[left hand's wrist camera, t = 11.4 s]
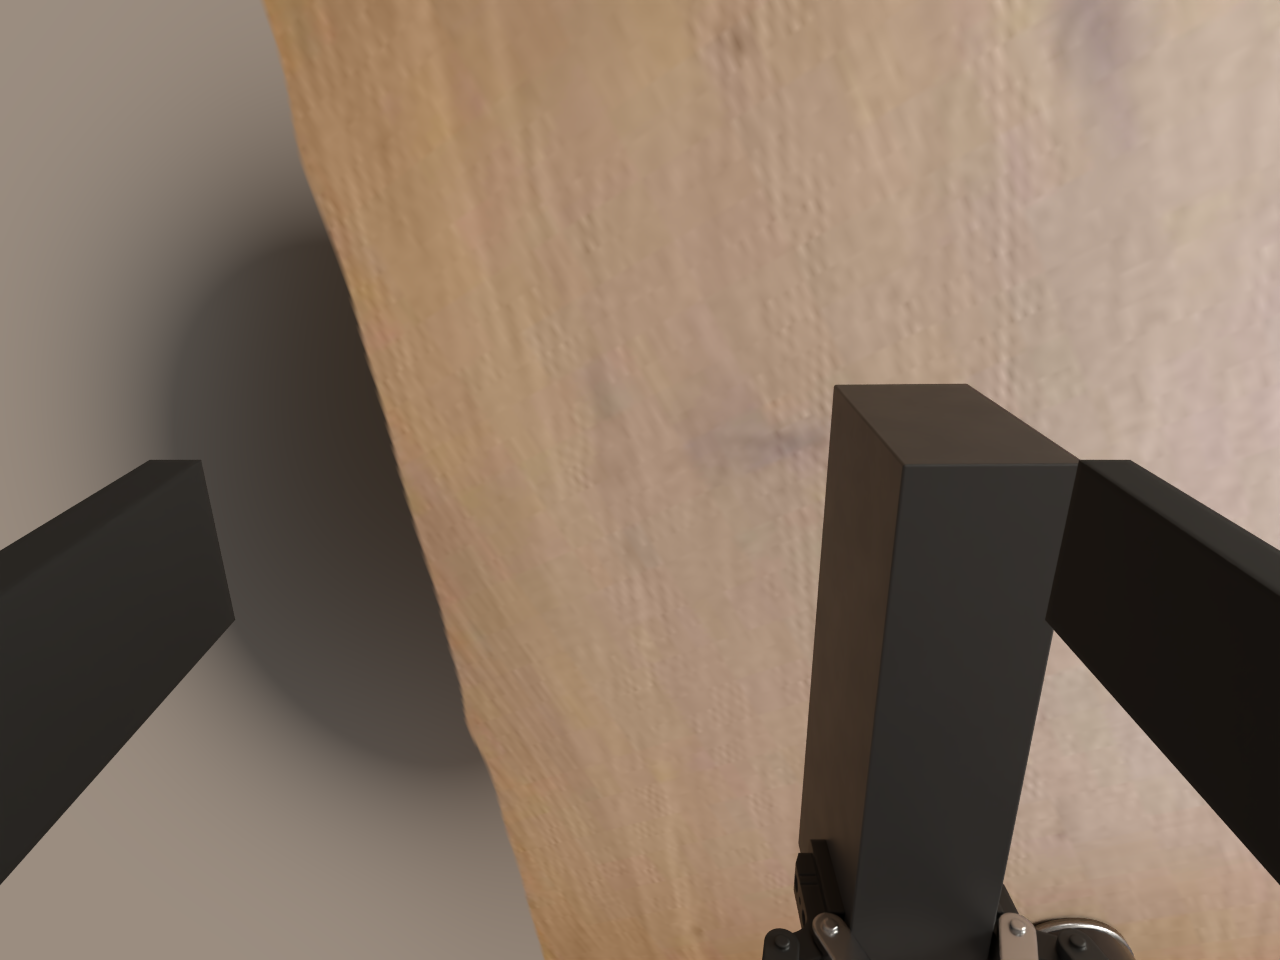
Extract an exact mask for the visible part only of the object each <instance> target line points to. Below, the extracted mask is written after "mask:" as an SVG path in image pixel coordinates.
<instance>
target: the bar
mask: <svg viewBox="0 0 1280 960" xmlns="http://www.w3.org/2000/svg"><path fill="white" fill-rule="evenodd" d="M1079 460H1080V459H1078V458H1077V457H1075V456H1074V455H1072V454H1071V453H1069V452H1068V451H1066V450H1065V449H1063V448H1062V447H1060V446H1059V445H1057V444H1056V443H1054V442H1053V441H1051V440H1050V439H1048V438H1047V437H1045V436H1044V435H1042V434H1041V433H1039V432H1038V431H1037V430H1035V429H1034V428H1032V427H1031V426H1029V425H1028V424H1026V423H1025V422H1023V421H1022V420H1020V419H1019V418H1017V417H1016V416H1014V415H1013V414H1011V413H1010V412H1008V411H1007V410H1005V409H1004V408H1002V407H1001V406H999V405H998V404H996V403H995V402H993V401H992V400H990V399H989V398H987V397H986V396H984V395H983V394H981V393H980V392H978V391H977V390H975V389H974V388H972V387H971V386H969V385H968V384H885V385H835V386H834V393H833V406H832V419H831V432H830V445H829V458H828V471H827V483H826V496H825V509H824V522H823V535H822V548H821V561H820V573H819V586H818V599H817V612H816V625H815V638H814V650H813V663H812V676H811V689H810V702H809V715H808V728H807V740H806V753H805V766H804V779H803V792H802V805H801V818H800V830H799V848H800V852H801V853H807V852H808V841H809V839H825V840H826V842H827V846H828V850H829V853H830V857H831V861H832V865H833V868H834V872H835V876H836V880H837V883H838V887H839V891H840V895H841V898H842V902H843V906H844V910H845V918H844V922H845V923H846V925H847V926H848V928H849V929H850V930H851V932H852V933H853V935H854V936H855V938H856V939H857V941H858V942H859V943H860V945H861V946H862V948H863V949H864V951H865V952H866V953H867V955H868V956H869V958H870V959H871V960H988V955H989V950H990V945H991V940H992V935H993V930H994V925H995V920H996V915H997V910H998V905H999V900H1000V895H1001V890H1002V885H1003V880H1004V875H1005V870H1006V865H1007V860H1008V855H1009V850H1010V845H1011V840H1012V835H1013V830H1014V825H1015V820H1016V815H1017V810H1018V805H1019V800H1020V795H1021V790H1022V785H1023V780H1024V775H1025V770H1026V765H1027V760H1028V755H1029V750H1030V745H1031V740H1032V735H1033V730H1034V725H1035V720H1036V715H1037V710H1038V705H1039V700H1040V695H1041V690H1042V685H1043V680H1044V675H1045V670H1046V665H1047V660H1048V655H1049V650H1050V645H1051V640H1052V636H1053V631H1054V629H1053V628H1052V627H1051V626H1050V625H1049V624H1048V623H1047V622H1046V620H1045V617H1046V613H1047V608H1048V603H1049V598H1050V594H1051V589H1052V584H1053V580H1054V575H1055V570H1056V566H1057V561H1058V556H1059V552H1060V547H1061V542H1062V537H1063V533H1064V528H1065V523H1066V519H1067V514H1068V509H1069V505H1070V500H1071V495H1072V491H1073V486H1074V481H1075V476H1076V472H1077V467H1078V462H1079Z"/></svg>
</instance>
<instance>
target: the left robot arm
mask: <svg viewBox="0 0 1280 960" xmlns="http://www.w3.org/2000/svg"><path fill="white" fill-rule="evenodd" d="M234 620H235V617H234V613H233V608H232V603H231V598H230V594H229V589H228V584H227V580H226V575H225V570H224V566H223V561H222V556H221V552H220V547H219V542H218V538H217V533H216V528H215V523H214V519H213V514H212V509H211V505H210V500H209V495H208V491H207V486H206V481H205V476H204V472H203V467H202V462H201V460H149V461H147V462H146V463H144V464H142V465H141V466H139V467H137V468H136V469H134V470H133V471H131V472H129V473H128V474H126V475H124V476H123V477H121V478H119V479H118V480H116V481H114V482H113V483H111V484H109V485H108V486H106V487H104V488H103V489H101V490H99V491H98V492H96V493H94V494H93V495H91V496H90V497H88V498H86V499H85V500H83V501H81V502H80V503H78V504H76V505H75V506H73V507H71V508H70V509H68V510H66V511H65V512H63V513H62V514H60V515H58V516H57V517H55V518H53V519H52V520H50V521H48V522H47V523H45V524H43V525H42V526H40V527H38V528H37V529H35V530H34V531H32V532H30V533H29V534H27V535H25V536H24V537H22V538H20V539H19V540H17V541H15V542H14V543H12V544H10V545H9V546H7V547H5V548H4V549H2V550H1V551H0V885H1V883H2V882H3V881H4V880H5V879H6V878H7V877H8V876H9V874H10V873H11V872H12V871H13V870H14V869H15V868H16V867H17V865H18V864H19V863H20V862H21V861H22V860H23V859H24V858H25V856H26V855H27V854H28V853H29V852H30V851H31V850H32V848H33V847H34V846H35V845H36V844H37V843H38V842H39V841H40V839H41V838H42V837H43V836H44V835H45V834H46V833H47V832H48V830H49V829H50V828H51V827H52V826H53V825H54V824H55V823H56V821H57V820H58V819H59V818H60V817H61V816H62V815H63V813H64V812H65V811H66V810H67V809H68V808H69V807H70V806H71V804H72V803H73V802H74V801H75V800H76V799H77V798H78V797H79V795H80V794H81V793H82V792H83V791H84V790H85V789H86V787H87V786H88V785H89V784H90V783H91V782H92V781H93V780H94V778H95V777H96V776H97V775H98V774H99V773H100V772H101V771H102V769H103V768H104V767H105V766H106V765H107V764H108V763H109V761H110V760H111V759H112V758H113V757H114V756H115V755H116V754H117V753H118V751H119V750H120V749H121V748H122V747H123V746H124V745H125V743H126V742H127V741H128V740H129V739H130V738H131V737H132V735H133V734H134V733H135V732H136V731H137V730H138V729H139V728H140V727H141V725H142V724H143V723H144V722H145V721H146V720H147V719H148V717H149V716H150V715H151V714H152V713H153V712H154V711H155V710H156V708H157V707H158V706H159V705H160V704H161V703H162V702H163V701H164V699H165V698H166V697H167V696H168V695H169V694H170V693H171V691H172V690H173V689H174V688H175V687H176V686H177V685H178V684H179V682H180V681H181V680H182V679H183V678H184V677H185V676H186V675H187V673H188V672H189V671H190V670H191V669H192V668H193V667H194V666H195V664H196V663H197V662H198V661H199V660H200V659H201V658H202V656H203V655H204V654H205V653H206V652H207V651H208V650H209V649H210V648H211V646H212V645H213V644H214V643H215V642H216V641H217V640H218V638H219V637H220V636H221V635H222V634H223V633H224V632H225V631H226V629H227V628H228V627H229V626H230V625H231V624H232V623H233V622H234ZM1045 620H1046V622H1047V623H1048V624H1049V625H1050V626H1051V627H1052V628H1053V629H1054V631H1055V632H1056V633H1057V634H1058V635H1059V636H1060V637H1061V638H1062V640H1063V641H1064V642H1065V643H1066V644H1067V645H1068V646H1069V648H1070V649H1071V650H1072V651H1073V652H1074V653H1075V654H1076V655H1077V657H1078V658H1079V659H1080V660H1081V661H1082V662H1083V663H1084V664H1085V666H1086V667H1087V668H1088V669H1089V670H1090V671H1091V672H1092V673H1093V675H1094V676H1095V677H1096V678H1097V679H1098V680H1099V681H1100V683H1101V684H1102V685H1103V686H1104V687H1105V688H1106V689H1107V690H1108V692H1109V693H1110V694H1111V695H1112V696H1113V697H1114V698H1115V699H1116V701H1117V702H1118V703H1119V704H1120V705H1121V706H1122V707H1123V708H1124V710H1125V711H1126V712H1127V713H1128V714H1129V715H1130V716H1131V718H1132V719H1133V720H1134V721H1135V722H1136V723H1137V724H1138V725H1139V727H1140V728H1141V729H1142V730H1143V731H1144V732H1145V733H1146V734H1147V736H1148V737H1149V738H1150V739H1151V740H1152V741H1153V742H1154V743H1155V745H1156V746H1157V747H1158V748H1159V749H1160V750H1161V751H1162V753H1163V754H1164V755H1165V756H1166V757H1167V758H1168V759H1169V760H1170V762H1171V763H1172V764H1173V765H1174V766H1175V767H1176V768H1177V769H1178V771H1179V772H1180V773H1181V774H1182V775H1183V776H1184V777H1185V778H1186V780H1187V781H1188V782H1189V783H1190V784H1191V785H1192V786H1193V788H1194V789H1195V790H1196V791H1197V792H1198V793H1199V794H1200V795H1201V797H1202V798H1203V799H1204V800H1205V801H1206V802H1207V803H1208V804H1209V806H1210V807H1211V808H1212V809H1213V810H1214V811H1215V812H1216V813H1217V815H1218V816H1219V817H1220V818H1221V819H1222V820H1223V821H1224V823H1225V824H1226V825H1227V826H1228V827H1229V828H1230V829H1231V830H1232V832H1233V833H1234V834H1235V835H1236V836H1237V837H1238V838H1239V839H1240V841H1241V842H1242V843H1243V844H1244V845H1245V846H1246V847H1247V848H1248V850H1249V851H1250V852H1251V853H1252V854H1253V855H1254V856H1255V858H1256V859H1257V860H1258V861H1259V862H1260V863H1261V864H1262V865H1263V867H1264V868H1265V869H1266V870H1267V871H1268V872H1269V873H1270V874H1271V876H1272V877H1273V878H1274V879H1275V880H1276V881H1277V882H1278V883H1279V885H1280V551H1279V550H1278V549H1276V548H1275V547H1273V546H1271V545H1270V544H1268V543H1266V542H1265V541H1263V540H1261V539H1260V538H1258V537H1256V536H1255V535H1253V534H1251V533H1250V532H1248V531H1246V530H1245V529H1243V528H1242V527H1240V526H1238V525H1237V524H1235V523H1233V522H1232V521H1230V520H1228V519H1227V518H1225V517H1223V516H1222V515H1220V514H1218V513H1217V512H1215V511H1214V510H1212V509H1210V508H1209V507H1207V506H1205V505H1204V504H1202V503H1200V502H1199V501H1197V500H1195V499H1194V498H1192V497H1190V496H1189V495H1187V494H1186V493H1184V492H1182V491H1181V490H1179V489H1177V488H1176V487H1174V486H1172V485H1171V484H1169V483H1167V482H1166V481H1164V480H1162V479H1161V478H1159V477H1157V476H1156V475H1154V474H1153V473H1151V472H1149V471H1148V470H1146V469H1144V468H1143V467H1141V466H1139V465H1138V464H1136V463H1134V462H1133V461H1131V460H1079V462H1078V467H1077V472H1076V476H1075V481H1074V486H1073V491H1072V495H1071V500H1070V505H1069V509H1068V514H1067V519H1066V523H1065V528H1064V533H1063V537H1062V542H1061V547H1060V552H1059V556H1058V561H1057V566H1056V570H1055V575H1054V580H1053V584H1052V589H1051V594H1050V598H1049V603H1048V608H1047V613H1046V617H1045Z"/></svg>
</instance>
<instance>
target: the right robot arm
mask: <svg viewBox="0 0 1280 960" xmlns="http://www.w3.org/2000/svg"><path fill="white" fill-rule="evenodd" d="M794 894H795V899H796V903H797V908H798V913H799V918H800V923H801V928H802V929H801V930H799V931H797V932H794V933H792V932H790V931H788V930H786V929H781V928H778V929H773V930H771V931H769V932H768V933H767V935H766V936H765V940H764V948H763V957H762V960H871V959H870V958H869V956H868V955H867V953H866V952H865V951H864V949H863V948H862V946H861V945H860V943H859V942H858V941H857V939H856V938H855V936H854V935H853V933H852V932H851V930H850V929H849V928H848V926H847V925H846V923H845V922H844V918H845V910H844V906H843V902H842V898H841V895H840V891H839V887H838V883H837V880H836V876H835V872H834V868H833V865H832V861H831V857H830V853H829V850H828V846H827V842H826V840H825V839H809V841H808V852H807V853H798V857H797V861H796V867H795V880H794ZM988 960H1135V958H1134V955H1133V953H1132V950H1131V949H1130V947H1129V945H1128V944H1127V942H1126V941H1125V939H1124V938H1123V936H1122V935H1121V934H1120V933H1119V932H1118V931H1117V930H1115V929H1114V928H1112V927H1111V926H1109V925H1107V924H1105V923H1102V922H1099V921H1096V920H1092V919H1085V918H1064V919H1057V920H1052V921H1048V922H1045V923H1042V924H1039V925H1036V926H1033V924H1032V923H1031V922H1030V921H1029V920H1028V919H1027V918H1025V917H1023V916H1022V915H1019V914H1018V912H1017V910H1016V908H1015V906H1014V904H1013V902H1012V900H1011V898H1010V896H1009V894H1008V892H1007V890H1006V888H1005V886H1004V884H1003V885H1002V890H1001V895H1000V900H999V905H998V910H997V915H996V920H995V925H994V930H993V935H992V940H991V945H990V950H989V955H988Z"/></svg>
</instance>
